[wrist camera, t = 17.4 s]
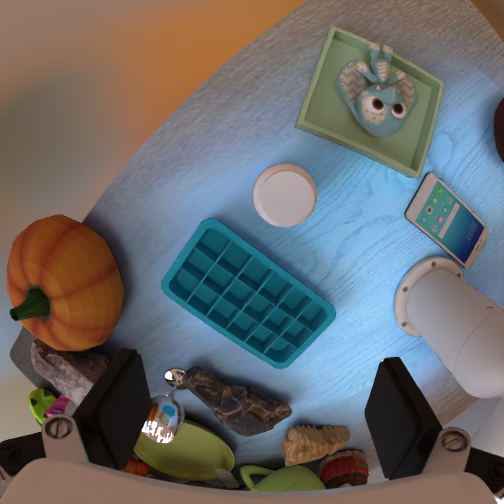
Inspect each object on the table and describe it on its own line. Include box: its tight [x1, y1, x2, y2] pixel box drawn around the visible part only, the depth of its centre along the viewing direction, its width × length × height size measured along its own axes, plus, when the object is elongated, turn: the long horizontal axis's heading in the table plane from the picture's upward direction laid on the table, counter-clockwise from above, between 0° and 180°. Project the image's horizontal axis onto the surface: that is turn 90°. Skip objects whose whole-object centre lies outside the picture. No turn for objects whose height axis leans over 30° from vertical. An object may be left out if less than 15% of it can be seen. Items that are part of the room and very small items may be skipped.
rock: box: [29, 339, 110, 406], centre depth 38 cm, size 14×14×15 cm
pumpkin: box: [7, 215, 124, 351], centre depth 32 cm, size 19×19×15 cm
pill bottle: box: [253, 163, 317, 227], centre depth 30 cm, size 6×6×11 cm
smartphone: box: [405, 173, 489, 269], centre depth 35 cm, size 8×1×15 cm
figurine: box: [121, 455, 160, 480], centre depth 46 cm, size 10×10×15 cm
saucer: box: [134, 419, 235, 481], centre depth 46 cm, size 21×21×3 cm
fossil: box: [283, 425, 350, 466], centre depth 44 cm, size 12×6×9 cm
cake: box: [319, 450, 369, 490], centre depth 39 cm, size 11×9×18 cm
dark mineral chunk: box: [182, 366, 292, 436], centre depth 41 cm, size 6×12×15 cm
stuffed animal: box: [336, 43, 419, 138], centre depth 27 cm, size 11×7×12 cm
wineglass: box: [142, 369, 187, 443], centre depth 38 cm, size 6×6×12 cm
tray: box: [295, 25, 445, 178], centre depth 30 cm, size 16×14×3 cm
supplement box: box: [46, 394, 78, 417], centre depth 40 cm, size 6×6×12 cm
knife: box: [214, 468, 246, 491], centre depth 48 cm, size 22×1×5 cm
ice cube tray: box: [161, 218, 336, 369], centre depth 38 cm, size 12×20×3 cm, turn 53°
